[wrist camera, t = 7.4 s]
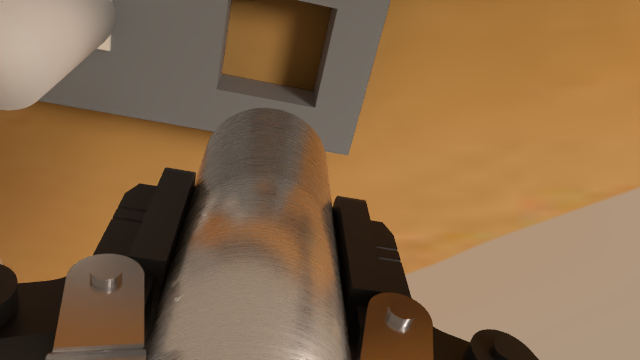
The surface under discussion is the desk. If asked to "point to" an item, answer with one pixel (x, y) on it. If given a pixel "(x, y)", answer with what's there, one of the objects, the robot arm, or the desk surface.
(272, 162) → the steel pin
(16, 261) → the desk surface
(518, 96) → the desk surface
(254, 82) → the pin board
